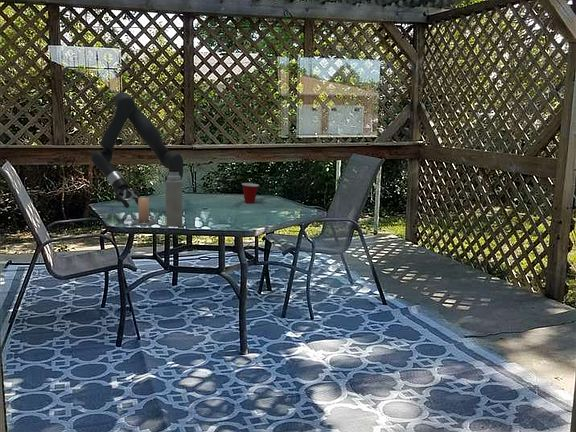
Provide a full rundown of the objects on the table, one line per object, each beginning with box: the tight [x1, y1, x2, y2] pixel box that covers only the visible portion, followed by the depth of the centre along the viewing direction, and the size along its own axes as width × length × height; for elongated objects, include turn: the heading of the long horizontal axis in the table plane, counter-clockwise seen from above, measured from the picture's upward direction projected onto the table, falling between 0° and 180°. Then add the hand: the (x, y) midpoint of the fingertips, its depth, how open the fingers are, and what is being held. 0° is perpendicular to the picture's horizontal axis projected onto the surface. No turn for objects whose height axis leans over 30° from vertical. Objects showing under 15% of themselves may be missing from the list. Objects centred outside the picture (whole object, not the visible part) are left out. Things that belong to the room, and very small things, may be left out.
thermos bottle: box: [165, 169, 183, 228], centre depth 307 cm, size 8×8×28 cm
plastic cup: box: [241, 182, 260, 205], centre depth 383 cm, size 11×11×12 cm
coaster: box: [131, 219, 157, 226], centre depth 314 cm, size 12×12×1 cm
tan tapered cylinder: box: [137, 197, 150, 223], centre depth 313 cm, size 5×5×12 cm
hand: (134, 206), depth 315 cm, fingers open, 8 cm apart
